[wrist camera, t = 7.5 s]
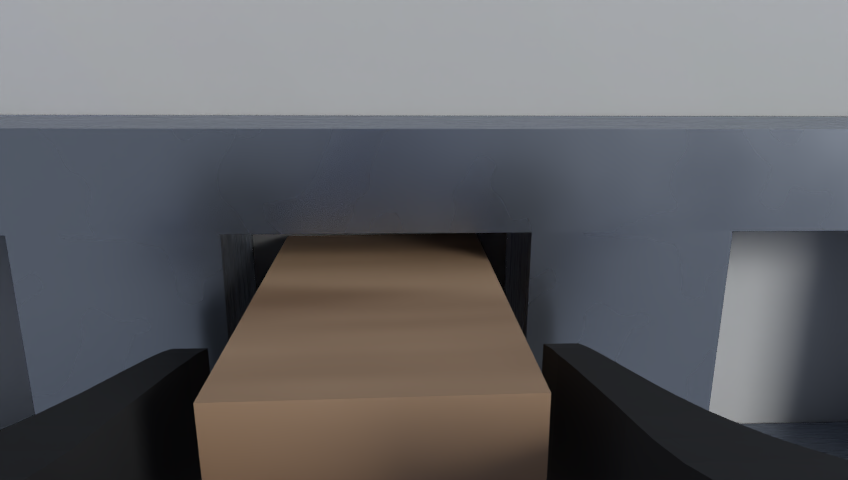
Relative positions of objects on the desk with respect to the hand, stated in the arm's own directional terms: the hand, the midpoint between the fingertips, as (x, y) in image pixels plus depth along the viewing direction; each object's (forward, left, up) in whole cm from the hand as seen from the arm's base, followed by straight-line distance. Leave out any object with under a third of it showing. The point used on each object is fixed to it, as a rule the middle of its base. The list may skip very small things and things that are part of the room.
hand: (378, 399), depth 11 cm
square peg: (0, 0, -3) cm, 4 cm away
